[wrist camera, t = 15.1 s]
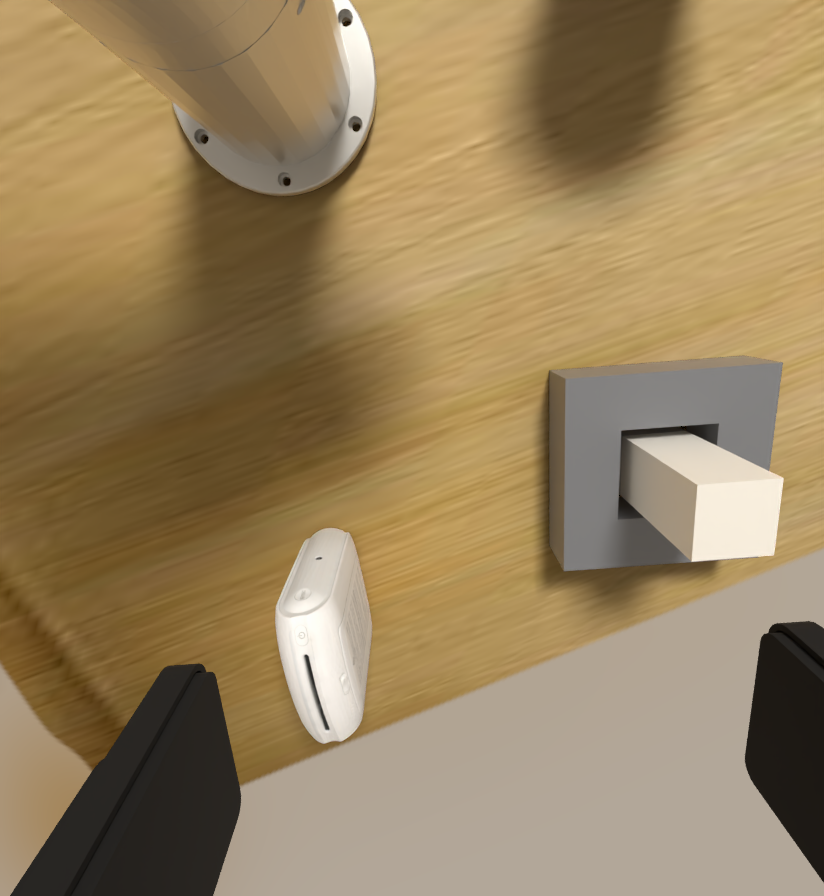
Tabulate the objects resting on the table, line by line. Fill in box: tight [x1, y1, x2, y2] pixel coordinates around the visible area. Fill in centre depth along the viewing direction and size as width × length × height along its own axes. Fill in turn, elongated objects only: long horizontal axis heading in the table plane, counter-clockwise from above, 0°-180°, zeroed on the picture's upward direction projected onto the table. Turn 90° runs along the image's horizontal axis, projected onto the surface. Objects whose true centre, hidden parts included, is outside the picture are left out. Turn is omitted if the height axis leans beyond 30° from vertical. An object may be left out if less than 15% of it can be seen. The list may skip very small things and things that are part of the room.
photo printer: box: [275, 528, 372, 744], centre depth 36 cm, size 10×4×12 cm, turn 10°
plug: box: [619, 426, 784, 562], centre depth 34 cm, size 4×4×12 cm
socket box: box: [549, 356, 783, 571], centre depth 38 cm, size 14×14×4 cm
